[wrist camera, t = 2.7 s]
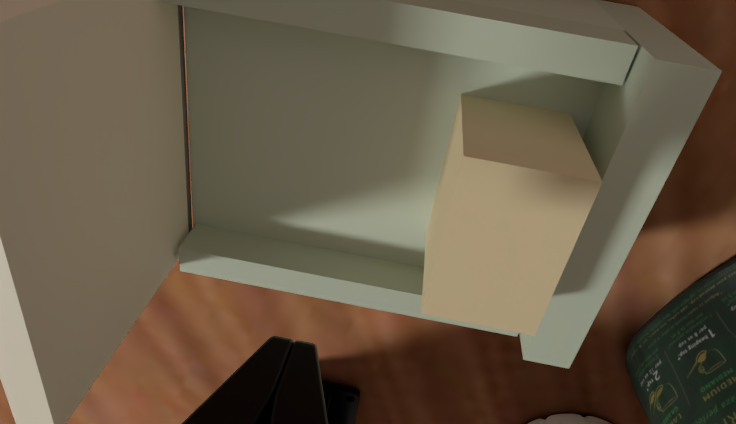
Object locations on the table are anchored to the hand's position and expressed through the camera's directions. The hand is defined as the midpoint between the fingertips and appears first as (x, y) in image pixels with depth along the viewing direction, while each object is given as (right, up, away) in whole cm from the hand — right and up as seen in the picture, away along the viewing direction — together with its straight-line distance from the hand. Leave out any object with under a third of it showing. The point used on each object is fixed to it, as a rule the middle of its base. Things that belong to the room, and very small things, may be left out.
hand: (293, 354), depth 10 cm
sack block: (+5, +4, +7) cm, 10 cm away
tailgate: (-6, +4, +4) cm, 8 cm away
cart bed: (+2, +7, +10) cm, 13 cm away
